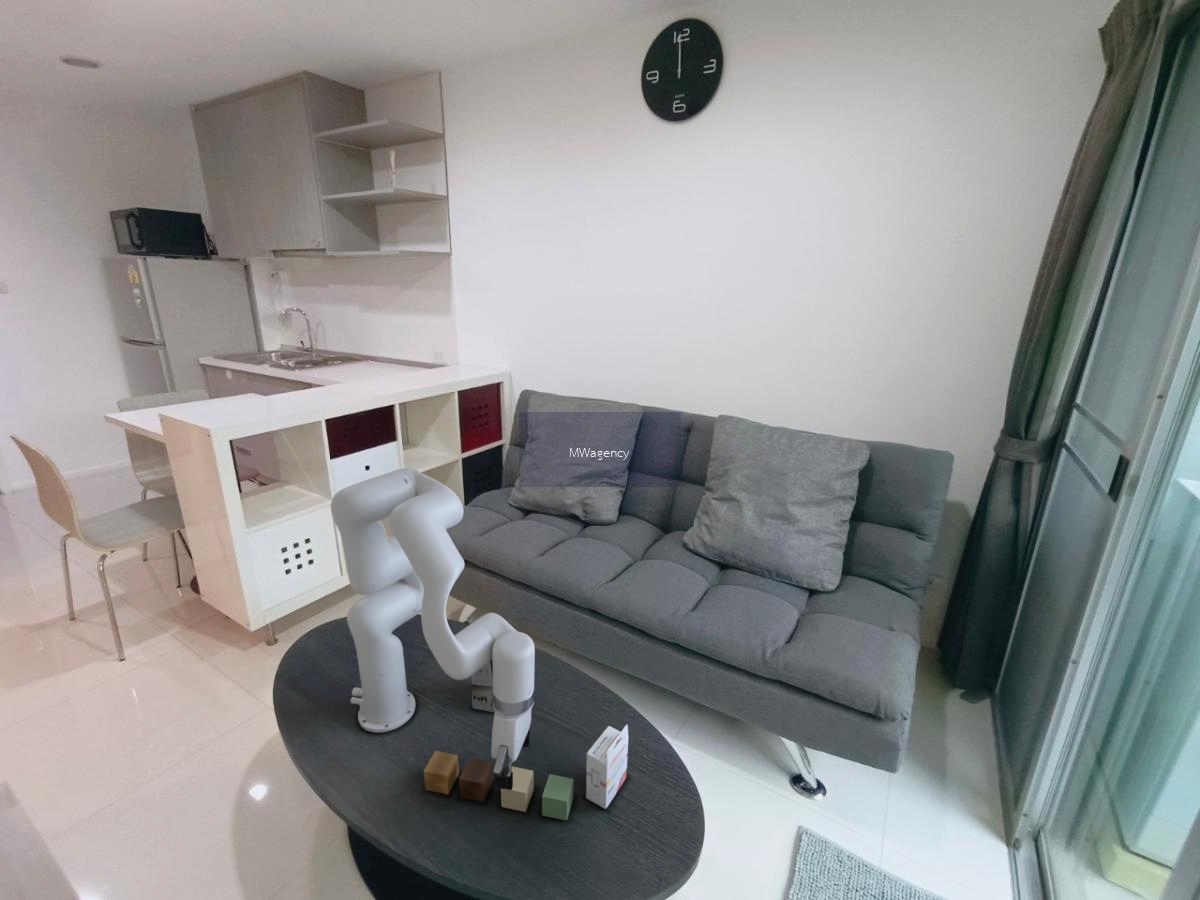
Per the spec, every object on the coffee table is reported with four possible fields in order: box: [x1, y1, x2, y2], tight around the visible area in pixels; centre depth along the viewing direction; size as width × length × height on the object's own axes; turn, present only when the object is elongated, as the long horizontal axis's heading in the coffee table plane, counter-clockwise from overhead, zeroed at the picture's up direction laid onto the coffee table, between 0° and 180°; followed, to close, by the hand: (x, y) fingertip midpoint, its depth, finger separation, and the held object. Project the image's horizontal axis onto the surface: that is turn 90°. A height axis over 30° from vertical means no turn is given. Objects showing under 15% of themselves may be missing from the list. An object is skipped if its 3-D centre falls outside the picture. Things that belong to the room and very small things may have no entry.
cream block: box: [500, 766, 535, 813], centre depth 109 cm, size 5×5×5 cm
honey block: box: [423, 750, 460, 796], centre depth 112 cm, size 5×5×5 cm
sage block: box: [541, 773, 575, 822], centre depth 107 cm, size 5×5×5 cm
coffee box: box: [470, 660, 495, 713], centre depth 132 cm, size 9×6×16 cm
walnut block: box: [458, 757, 494, 803], centre depth 110 cm, size 5×5×5 cm
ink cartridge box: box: [585, 724, 630, 810], centre depth 110 cm, size 9×5×15 cm, turn 148°
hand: (513, 765), depth 107 cm, fingers open, 9 cm apart
